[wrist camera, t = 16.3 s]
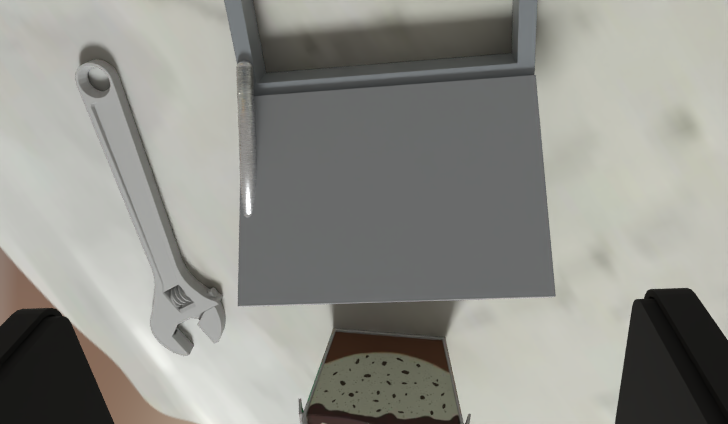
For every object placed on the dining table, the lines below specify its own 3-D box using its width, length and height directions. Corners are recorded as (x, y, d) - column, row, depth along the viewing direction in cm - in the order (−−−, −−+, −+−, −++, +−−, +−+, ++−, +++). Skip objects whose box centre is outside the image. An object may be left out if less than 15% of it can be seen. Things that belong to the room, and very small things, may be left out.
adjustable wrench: (79, 58, 40) (65, 64, 38) (168, 52, 39) (158, 58, 37) (165, 341, 51) (157, 355, 50) (235, 340, 51) (230, 354, 49)
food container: (316, 380, 52) (295, 479, 43) (315, 326, 49) (293, 421, 40) (454, 392, 51) (462, 495, 42) (463, 338, 48) (473, 437, 39)
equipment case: (538, -271, 29) (600, -357, 19) (522, 209, 42) (555, 305, 32) (194, -221, 31) (90, -275, 21) (279, 220, 44) (239, 314, 34)
